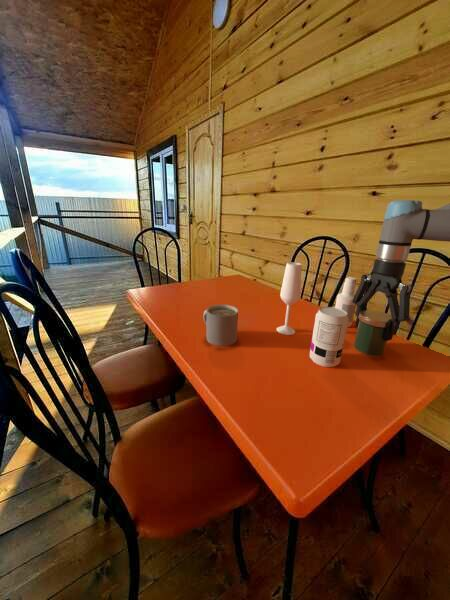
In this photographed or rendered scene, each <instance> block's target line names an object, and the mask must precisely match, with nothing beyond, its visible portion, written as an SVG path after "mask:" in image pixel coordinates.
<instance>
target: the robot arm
mask: <svg viewBox="0 0 450 600" xmlns="http://www.w3.org/2000/svg"><path fill="white" fill-rule="evenodd" d="M414 240H418V241H419V240H420V241H421V240H424V241H436V242H447V243H448V242H449V243H450V203H448V204H445V205H443V206H440V207H437V208H436V209H428V208H427V209H426V208H423V202H422V201H421V200H413V199H411V200H409V199H407V200H406V199H405V200H404V199H403V200H399V199H397V200H392V201H390V202H389V203H388V204H387V207H386V210H385V214H384V217H383V221H382V226H381V231H380V236H379V241H378V244H377V249H376V252H375V258H376V259H375V260H374V261H373V266H372V274H369V273H366V274H362V275H361V276H360V283H359V285H358V287H357V289H356V290H355V291H356V292H355V293H354V295H355V296H354V298H353V300H352V302H353V303H355V304H356V309H355V316H356V320H355V324H354V327H355V328H358V324H359V314H360V312H361V311H363V310H368V307H367V305H368V303H369V301H370V300H371V299H372V298H373V297H374V296H375V295H376V294H377V293H378V292H379V293H382V294H384V295H385V297H386V298H387V302H388V307H389V312H390V315H391V317H392V319H389V320H388V324H387V328H386V331H385V335H384V339H383V340H384V341H387V342H388V341H392V340H393V336H394V333H395V332H397V331H398V330H399V326H400V323H401V322H402V323H403V322H407V321H409V320H410V306H411V304H410V303H411V293H412V290H413V285H412V284H406V283H404V282H403V281H402V278H403V275H404V273H405V270H406V266H407V263H406V262H405V261H407V260H408V258H409V254H410V251H411V247H412V245H413V244H412V243H413V241H414ZM370 282H371V285H370ZM369 285H370V286H369ZM398 288H399V290H398ZM398 291H399V299H398Z"/></svg>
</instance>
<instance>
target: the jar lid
mask: <svg viewBox="0 0 450 600" xmlns="http://www.w3.org/2000/svg"><path fill="white" fill-rule="evenodd" d="M389 319H392V317H391V314H389V313H386V312H383V311H379V310H373V309H367V310H363V311H361V312H360V314H359V320H360V321H362V322H363V323H366V324H368V325H371V326H375V327H383V328H387V324H388V320H389Z"/></svg>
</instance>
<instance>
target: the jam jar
mask: <svg viewBox="0 0 450 600" xmlns="http://www.w3.org/2000/svg"><path fill="white" fill-rule="evenodd" d="M385 331H386V328H383V327H375V326H371V325H368V324H366V323H363V322H362V321H360V320H359V324H358V327H356V333H355V337H354V342H353V348H354V349H356V351H358V352H361V353H363V354H364V355H368V356H374V357H375V356H376V357H378V356H382V355H384V353H385V350H386V347H387V342H388V341H384V340H383V339H384V335H385Z"/></svg>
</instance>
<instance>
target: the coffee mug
mask: <svg viewBox="0 0 450 600" xmlns="http://www.w3.org/2000/svg"><path fill="white" fill-rule="evenodd" d="M202 316H203V323H204V324H205V325H206V329H205V330H206V334H205V335H206V337H205V339H206V341H207V342H208V343H209V344H211V345H214V346H217V347H227V346H231V345H234V344H235V343H236V342H237V341H238V324H239V309H238V308H237V307H235V306H233V305H229V304H214V305H210V306H209V307H207V308H206V309H205V310H204V311H203V315H202Z"/></svg>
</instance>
